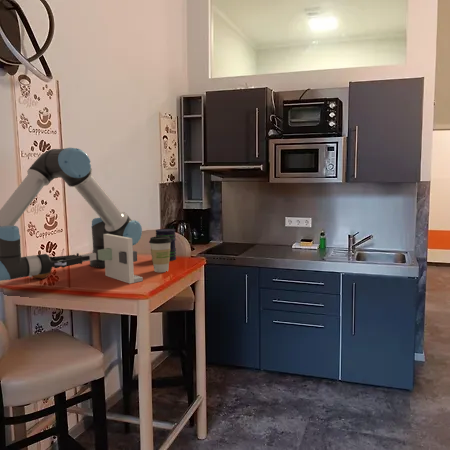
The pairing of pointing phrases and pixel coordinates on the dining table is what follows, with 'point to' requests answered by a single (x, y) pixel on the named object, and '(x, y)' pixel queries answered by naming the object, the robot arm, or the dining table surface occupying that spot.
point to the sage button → (105, 254)
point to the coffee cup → (160, 252)
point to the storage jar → (172, 236)
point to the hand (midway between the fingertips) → (95, 256)
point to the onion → (41, 275)
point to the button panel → (113, 265)
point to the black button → (124, 257)
